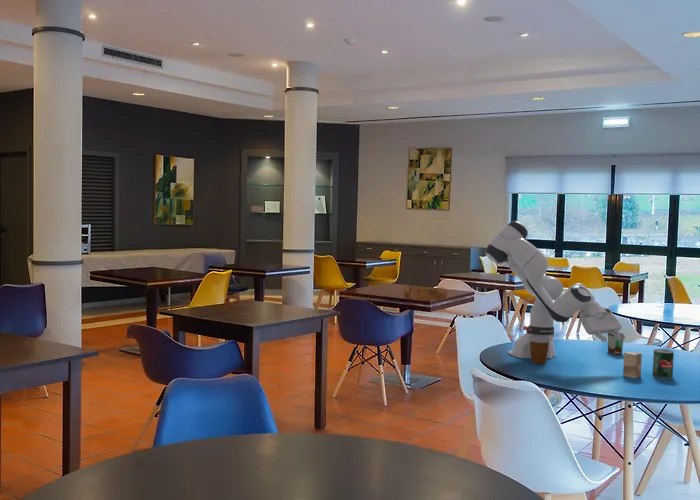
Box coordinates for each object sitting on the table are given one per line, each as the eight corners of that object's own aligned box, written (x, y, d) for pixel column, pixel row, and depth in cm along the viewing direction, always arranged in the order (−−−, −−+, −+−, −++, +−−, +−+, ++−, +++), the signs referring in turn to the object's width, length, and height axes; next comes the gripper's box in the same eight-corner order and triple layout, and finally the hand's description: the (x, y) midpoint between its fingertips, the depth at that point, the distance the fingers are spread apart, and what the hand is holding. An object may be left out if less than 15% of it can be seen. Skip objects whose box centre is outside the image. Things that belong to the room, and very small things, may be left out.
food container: (628, 356, 339) (629, 335, 339) (615, 355, 340) (616, 335, 339) (619, 351, 352) (619, 331, 351) (606, 351, 352) (607, 331, 351)
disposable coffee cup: (550, 365, 312) (551, 338, 312) (528, 363, 314) (529, 337, 314) (548, 361, 322) (549, 335, 321) (527, 359, 323) (528, 334, 323)
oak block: (633, 378, 290) (634, 354, 290) (623, 375, 294) (624, 352, 294) (640, 377, 293) (641, 353, 292) (630, 374, 297) (631, 351, 296)
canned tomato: (666, 379, 289) (667, 353, 289) (648, 375, 296) (649, 350, 295) (676, 377, 294) (677, 351, 294) (658, 373, 300) (659, 348, 300)
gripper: (582, 311, 302) (600, 337, 294) (613, 309, 313) (631, 334, 305) (574, 320, 306) (591, 346, 298) (604, 318, 317) (622, 342, 309)
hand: (611, 340), depth 301 cm, fingers open, 8 cm apart
